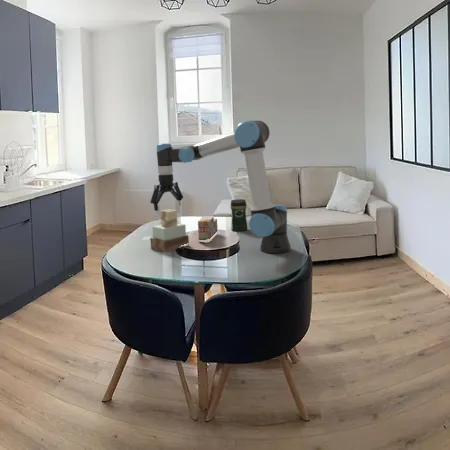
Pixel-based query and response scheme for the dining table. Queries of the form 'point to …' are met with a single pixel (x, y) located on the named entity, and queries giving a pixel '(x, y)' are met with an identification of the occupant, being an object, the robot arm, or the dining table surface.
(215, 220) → the printed cardboard box
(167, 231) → the tower top
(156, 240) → the tower base
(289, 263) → the dining table surface
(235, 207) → the coffee jar
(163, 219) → the maple block
